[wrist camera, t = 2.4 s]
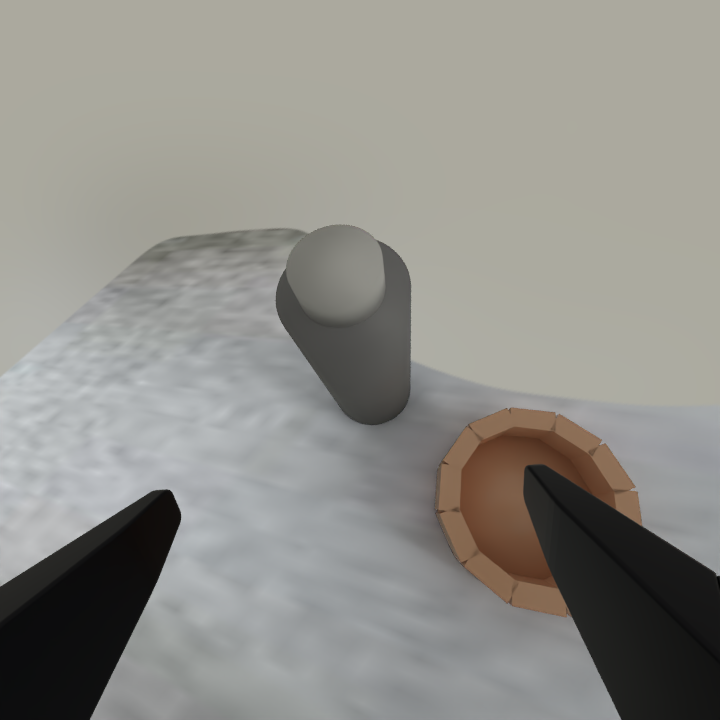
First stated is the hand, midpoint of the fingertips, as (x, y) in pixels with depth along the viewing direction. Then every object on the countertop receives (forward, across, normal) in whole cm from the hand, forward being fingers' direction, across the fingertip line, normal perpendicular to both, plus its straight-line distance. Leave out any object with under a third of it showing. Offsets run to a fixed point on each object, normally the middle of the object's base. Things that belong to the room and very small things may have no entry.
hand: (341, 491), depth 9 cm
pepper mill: (+14, 0, +4) cm, 15 cm away
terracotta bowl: (+9, -8, +9) cm, 15 cm away
